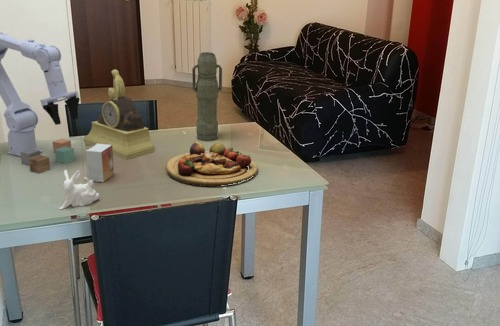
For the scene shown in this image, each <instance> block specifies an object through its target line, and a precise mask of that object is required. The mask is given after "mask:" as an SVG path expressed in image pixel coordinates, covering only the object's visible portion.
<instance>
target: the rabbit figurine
mask: <svg viewBox="0 0 500 326" xmlns="http://www.w3.org/2000/svg"><path fill="white" fill-rule="evenodd" d="M68 173H69V171H68V170H67V169H64V171H63V175H64V178H65V180H64V181H63V187H62V189H63V190H64V196H66V198H65V199H64V202H63V204H62V205H61V206H60V207H58V210H65V209H66V208H67V207H69V206H70V205H71V207H75V208H76V207H78V206H79V207H83V206H86V205H87V206H88V205H91V204H92V203H94V202H96V201H97V200H98V199H99V198H100V193H98V192H96V189H93V187H92V186H94V185H95V183H94V182H95V181H92V180H89V179H88V176H87V177H86V176H84V177H83V180H86V181H87V182H86V183H84V184H83V183H82V182H80V183H74V181H75V180H77V178H79V177H80V176H81V171H80V169H77V170H76V172H75V173H74V174H72V175H71V177H69V176H70V175H69V174H68Z"/></svg>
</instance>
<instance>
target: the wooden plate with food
mask: <svg viewBox="0 0 500 326" xmlns="http://www.w3.org/2000/svg"><path fill="white" fill-rule="evenodd" d="M247 166H249V171H248V172H247V170H248V167H247ZM165 170H166V173H167V174H168V176H170V177H171V178H172V179H174V180H176V181H178V182H180V183H184V184H186V183H187V185H191V184H192V185H191V186H196V185H201V186H200V187H205V186H221V185H228V184H233V183H238V182H241V181H243V180H247V179H249V178H251V177H252V176H254V175H255V174H256V173H257V174H258V172H257V170H258V171H259V168H258V165H257V163H256V162H255V161H254V160H252V158H251V156H250V155H249V154H248V155H244V154H243V153H241V152H239V151H235V150H234V148H233V147H227V148H226V146H225V145H224V144H222V143H221V142H219V141H218V142H216V143H214V144H212V145H211V146H210V148H209V150H205V147H204V145H203V144H202V143H200V142H199V141H195V142H194V143H192V145H190V148H189V152H185V153H182V154H178V155H175V156H174V157H172V158H170V159H169V160H168V161H167V162H166V165H165ZM257 174H256V175H257Z"/></svg>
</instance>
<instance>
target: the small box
mask: <svg viewBox="0 0 500 326" xmlns="http://www.w3.org/2000/svg"><path fill="white" fill-rule="evenodd" d="M85 158H86V161H85V162H86V169H87V171H86V172H87V178H88V179H89V180H92V181H93V182H96V183H97V182H98V183H99V182H100V183H104V182H106V181H107V180H108V179H110V178H111V177H113V176H114V174H115V169H114V154H113V150H112V145H107V144H96V145H95V146H91V147H90V148H88V149H86V150H85Z"/></svg>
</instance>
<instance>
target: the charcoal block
mask: <svg viewBox="0 0 500 326" xmlns="http://www.w3.org/2000/svg"><path fill="white" fill-rule="evenodd" d="M40 150H41V149H38V150H36V149H32V148H30V149H27V150H24V151H21V152H20V154H21V156H20V160H21V164H22V165H25V166H29V167H30V165H29V158H32V157H35V156H38V155H41V152H40Z"/></svg>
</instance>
